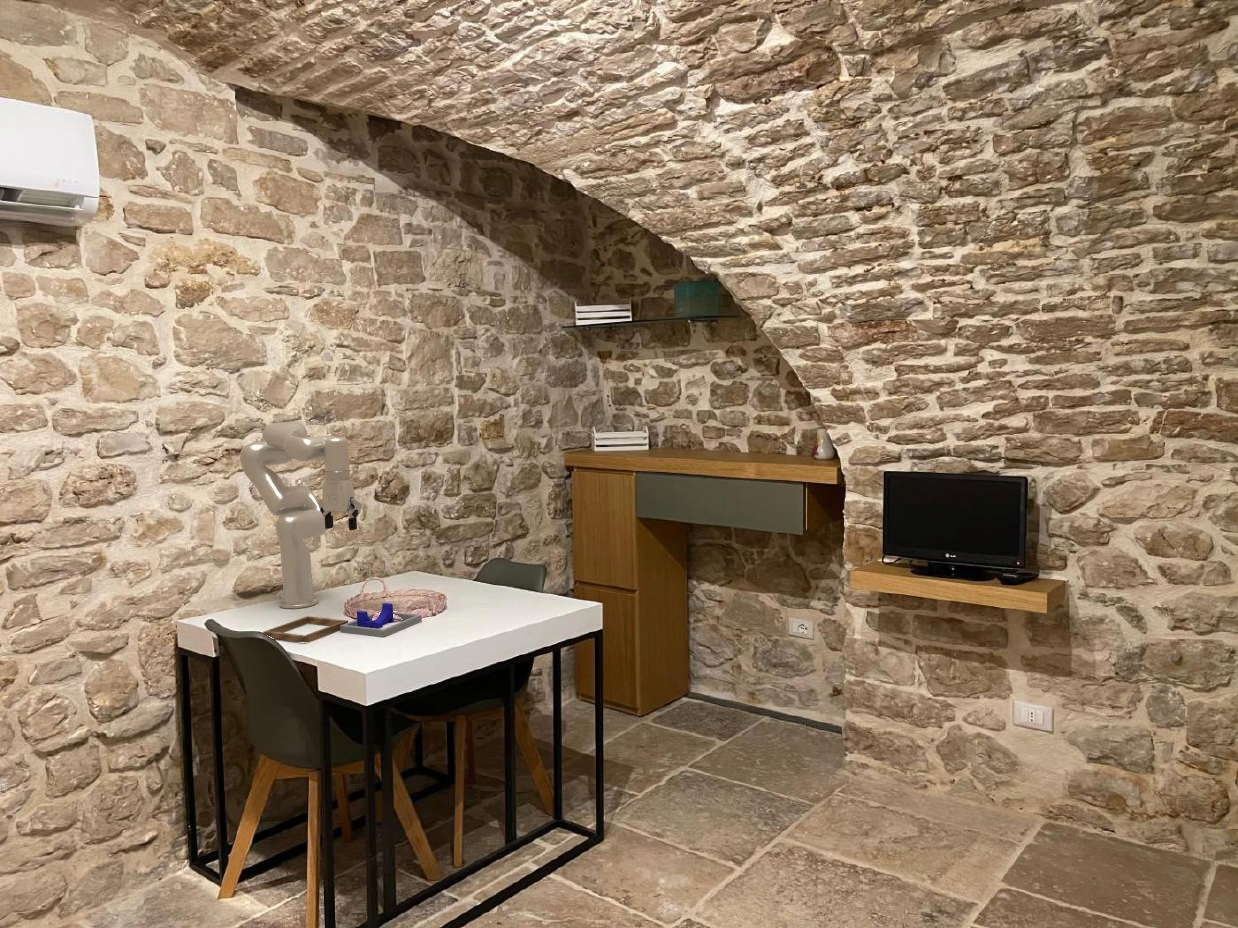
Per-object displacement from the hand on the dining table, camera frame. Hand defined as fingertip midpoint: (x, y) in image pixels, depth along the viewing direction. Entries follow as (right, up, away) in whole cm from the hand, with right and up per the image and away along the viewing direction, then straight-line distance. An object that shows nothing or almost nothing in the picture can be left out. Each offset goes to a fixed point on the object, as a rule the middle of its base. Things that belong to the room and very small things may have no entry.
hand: (341, 529), depth 305 cm
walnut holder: (-6, -30, -16) cm, 35 cm away
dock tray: (+16, -29, -12) cm, 35 cm away
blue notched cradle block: (+15, -30, -11) cm, 35 cm away
